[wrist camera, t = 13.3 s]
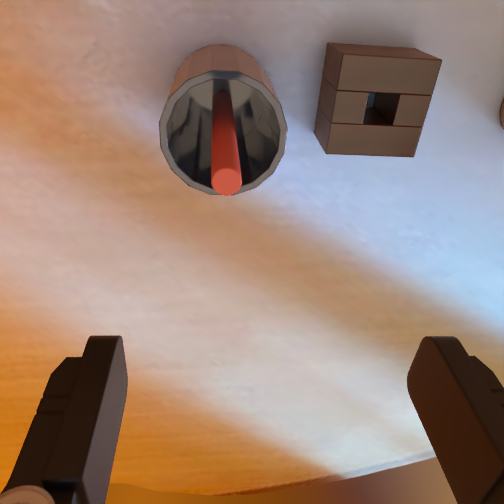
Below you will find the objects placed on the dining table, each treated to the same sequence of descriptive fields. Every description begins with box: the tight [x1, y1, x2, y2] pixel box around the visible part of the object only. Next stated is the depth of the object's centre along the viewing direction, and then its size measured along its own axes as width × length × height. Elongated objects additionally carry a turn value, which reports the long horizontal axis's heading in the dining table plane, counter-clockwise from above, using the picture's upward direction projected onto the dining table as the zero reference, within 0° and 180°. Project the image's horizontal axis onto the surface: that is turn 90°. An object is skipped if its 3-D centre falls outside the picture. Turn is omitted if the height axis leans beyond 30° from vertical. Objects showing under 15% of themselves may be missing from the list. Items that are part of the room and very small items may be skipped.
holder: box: [314, 43, 442, 157], centre depth 34 cm, size 7×7×5 cm
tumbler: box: [159, 45, 288, 195], centre depth 32 cm, size 8×8×10 cm
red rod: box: [211, 91, 242, 195], centre depth 29 cm, size 2×2×16 cm
